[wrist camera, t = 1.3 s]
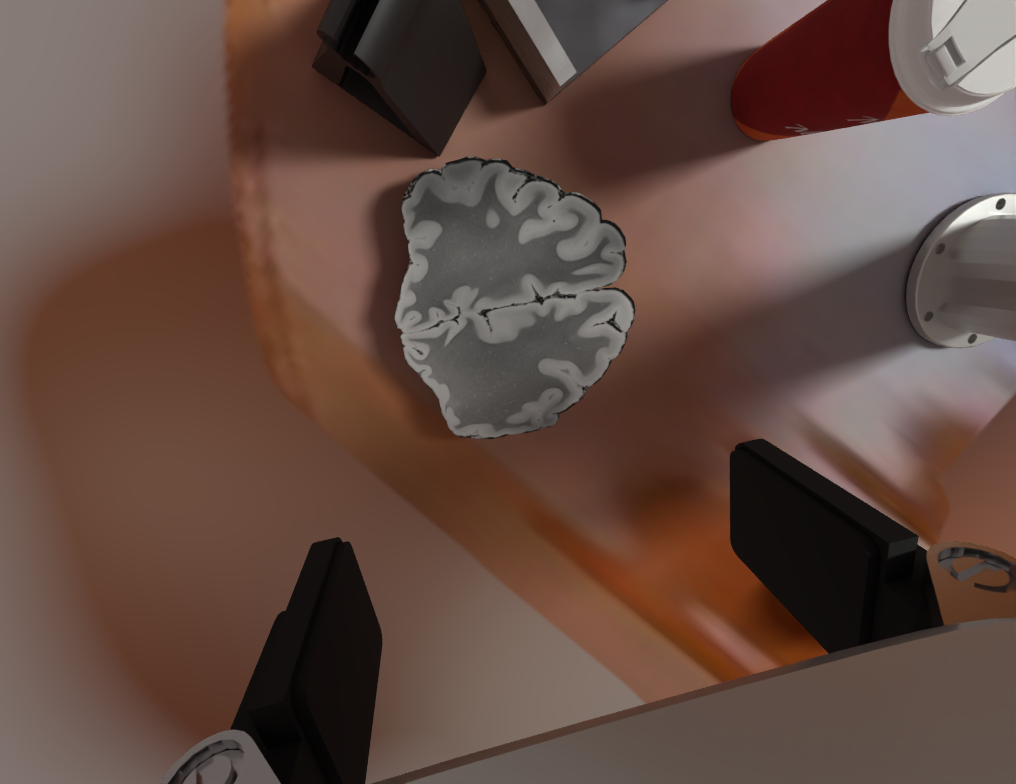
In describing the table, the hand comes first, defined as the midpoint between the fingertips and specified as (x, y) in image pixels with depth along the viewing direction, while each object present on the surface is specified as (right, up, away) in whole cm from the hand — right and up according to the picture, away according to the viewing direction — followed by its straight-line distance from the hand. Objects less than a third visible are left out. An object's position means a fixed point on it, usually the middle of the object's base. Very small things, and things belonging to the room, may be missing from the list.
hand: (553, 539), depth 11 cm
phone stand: (-8, +24, +19) cm, 31 cm away
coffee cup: (+17, +25, +22) cm, 38 cm away
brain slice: (-1, +11, +25) cm, 27 cm away
